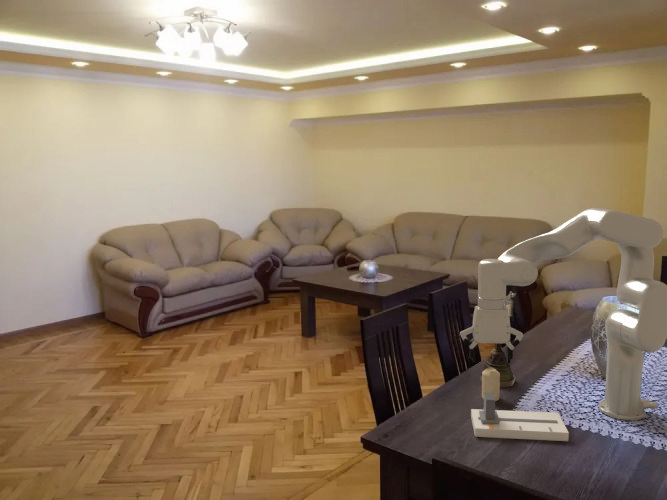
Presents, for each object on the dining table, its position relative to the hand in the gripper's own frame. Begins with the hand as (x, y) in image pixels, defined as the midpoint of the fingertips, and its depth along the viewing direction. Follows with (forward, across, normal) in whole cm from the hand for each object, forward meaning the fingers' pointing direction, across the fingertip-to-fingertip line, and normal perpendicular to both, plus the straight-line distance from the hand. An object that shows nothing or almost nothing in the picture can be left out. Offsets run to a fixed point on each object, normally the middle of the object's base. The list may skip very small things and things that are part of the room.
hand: (490, 361), depth 155 cm
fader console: (+20, -8, 0) cm, 22 cm away
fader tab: (+17, 0, 0) cm, 17 cm away
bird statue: (+20, -7, -32) cm, 39 cm away
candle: (+20, -3, -20) cm, 29 cm away
